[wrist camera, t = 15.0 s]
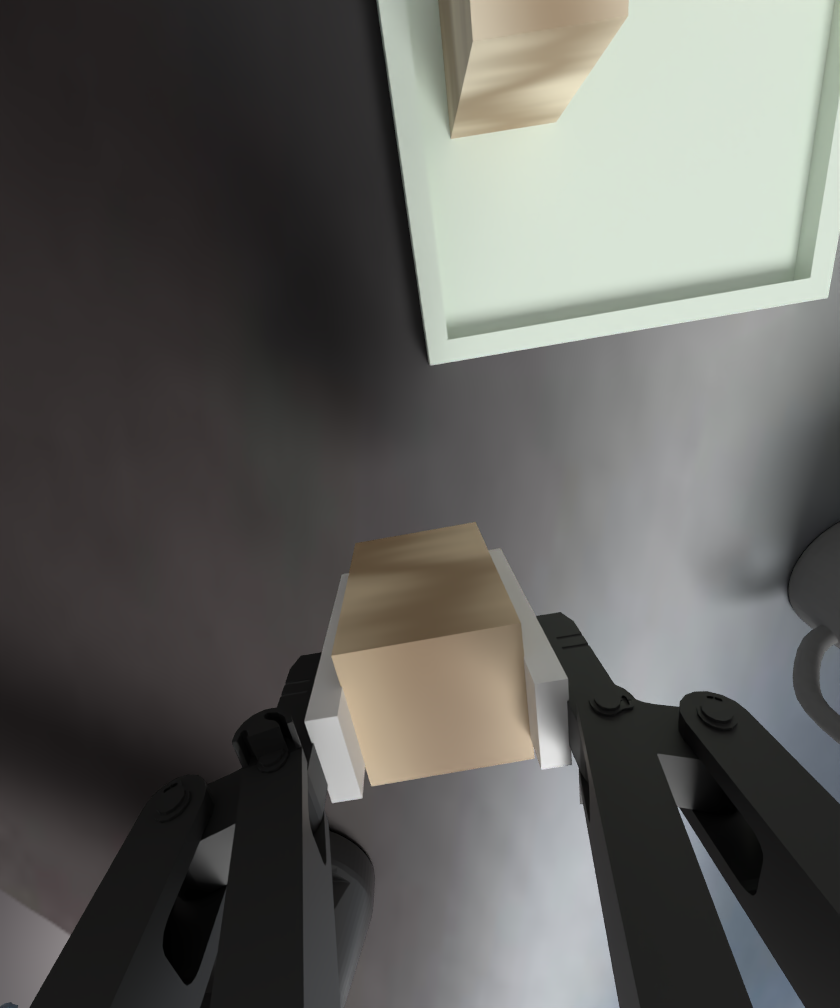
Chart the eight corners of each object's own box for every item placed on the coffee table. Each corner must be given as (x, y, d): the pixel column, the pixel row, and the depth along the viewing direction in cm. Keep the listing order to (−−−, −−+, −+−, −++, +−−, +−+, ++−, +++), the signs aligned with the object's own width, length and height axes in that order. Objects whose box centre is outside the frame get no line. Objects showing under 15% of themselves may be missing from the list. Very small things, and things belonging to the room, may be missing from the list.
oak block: (380, 640, 17) (371, 786, 11) (355, 543, 15) (331, 655, 10) (488, 622, 17) (534, 758, 11) (475, 522, 15) (520, 623, 10)
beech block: (450, 139, 18) (472, 41, 12) (437, -6, 16) (455, -197, 10) (555, 122, 17) (628, 16, 12) (553, -25, 16) (635, -228, 10)
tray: (428, 364, 21) (430, 365, 20) (334, -291, 14) (326, -363, 12) (799, 301, 21) (827, 297, 19) (910, -409, 13) (969, -498, 12)
